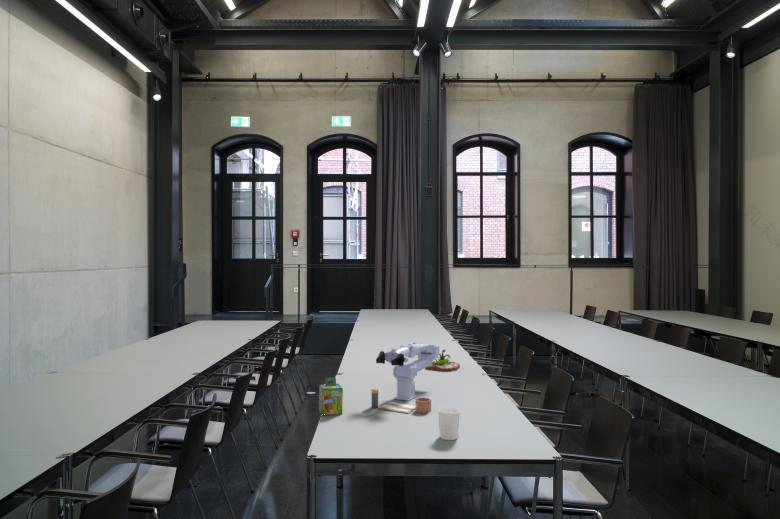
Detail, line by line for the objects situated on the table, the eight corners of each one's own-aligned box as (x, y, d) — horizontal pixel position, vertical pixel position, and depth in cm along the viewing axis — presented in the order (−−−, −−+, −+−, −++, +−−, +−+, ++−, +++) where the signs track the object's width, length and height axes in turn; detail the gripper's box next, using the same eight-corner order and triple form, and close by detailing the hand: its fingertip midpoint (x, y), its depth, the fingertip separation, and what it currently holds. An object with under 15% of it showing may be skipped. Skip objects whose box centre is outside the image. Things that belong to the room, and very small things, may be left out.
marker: (373, 405, 246) (373, 388, 246) (379, 406, 245) (379, 389, 244) (370, 407, 243) (370, 389, 243) (376, 408, 242) (376, 390, 242)
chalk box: (321, 416, 230) (321, 381, 230) (318, 410, 239) (318, 376, 239) (343, 414, 232) (343, 380, 232) (339, 408, 241) (339, 375, 241)
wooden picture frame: (390, 402, 252) (390, 401, 252) (419, 406, 245) (419, 405, 245) (377, 409, 241) (377, 407, 241) (408, 413, 234) (408, 412, 234)
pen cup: (419, 408, 243) (419, 396, 243) (432, 410, 240) (432, 398, 240) (413, 411, 237) (413, 400, 237) (427, 413, 234) (427, 402, 234)
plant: (464, 367, 332) (464, 349, 332) (450, 373, 316) (450, 354, 316) (435, 363, 343) (435, 346, 343) (420, 369, 327) (420, 350, 327)
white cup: (457, 433, 208) (457, 407, 208) (461, 440, 200) (461, 413, 200) (437, 434, 208) (437, 407, 208) (439, 441, 200) (439, 414, 200)
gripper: (384, 345, 257) (370, 351, 245) (412, 348, 250) (398, 354, 238) (385, 360, 257) (370, 366, 245) (412, 363, 250) (398, 370, 239)
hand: (384, 361), depth 242 cm, fingers open, 7 cm apart
